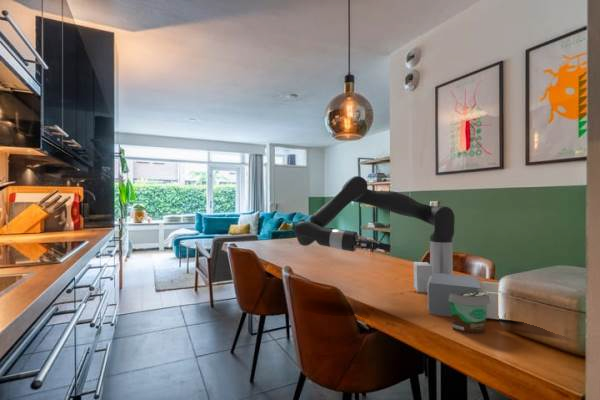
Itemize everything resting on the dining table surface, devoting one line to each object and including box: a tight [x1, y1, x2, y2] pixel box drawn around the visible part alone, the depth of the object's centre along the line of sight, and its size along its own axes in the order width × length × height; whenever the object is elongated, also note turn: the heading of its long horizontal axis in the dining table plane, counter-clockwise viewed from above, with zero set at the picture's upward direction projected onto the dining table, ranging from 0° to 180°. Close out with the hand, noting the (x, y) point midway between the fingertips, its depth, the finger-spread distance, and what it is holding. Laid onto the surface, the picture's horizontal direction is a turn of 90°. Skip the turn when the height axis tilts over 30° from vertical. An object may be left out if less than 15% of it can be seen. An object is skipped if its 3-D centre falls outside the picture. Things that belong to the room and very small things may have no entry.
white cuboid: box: [426, 276, 500, 320], centre depth 97 cm, size 25×14×8 cm, turn 63°
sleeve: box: [428, 273, 481, 318], centre depth 100 cm, size 14×16×10 cm
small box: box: [413, 261, 432, 293], centre depth 123 cm, size 8×6×10 cm
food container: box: [448, 289, 490, 335], centre depth 82 cm, size 12×6×10 cm, turn 114°
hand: (390, 247), depth 109 cm, fingers closed
